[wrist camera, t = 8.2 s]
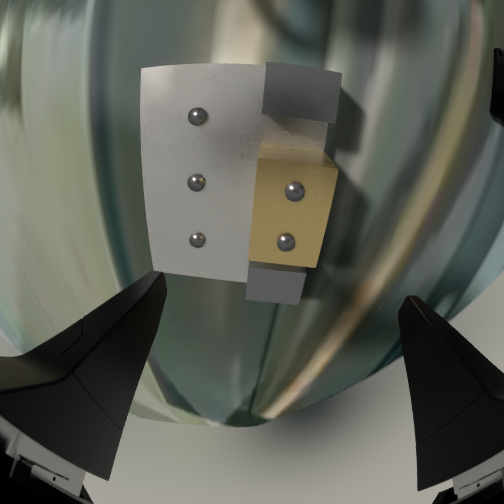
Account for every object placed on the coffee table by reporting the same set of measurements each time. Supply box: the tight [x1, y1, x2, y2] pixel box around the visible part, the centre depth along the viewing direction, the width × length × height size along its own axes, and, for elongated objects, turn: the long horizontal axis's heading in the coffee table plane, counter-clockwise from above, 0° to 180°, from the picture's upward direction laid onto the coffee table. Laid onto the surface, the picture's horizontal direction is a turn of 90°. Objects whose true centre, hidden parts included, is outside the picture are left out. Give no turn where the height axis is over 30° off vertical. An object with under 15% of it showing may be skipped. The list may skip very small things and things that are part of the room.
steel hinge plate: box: [140, 62, 342, 305], centre depth 17 cm, size 12×16×3 cm
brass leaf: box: [248, 143, 339, 268], centre depth 16 cm, size 4×6×4 cm, turn 175°
